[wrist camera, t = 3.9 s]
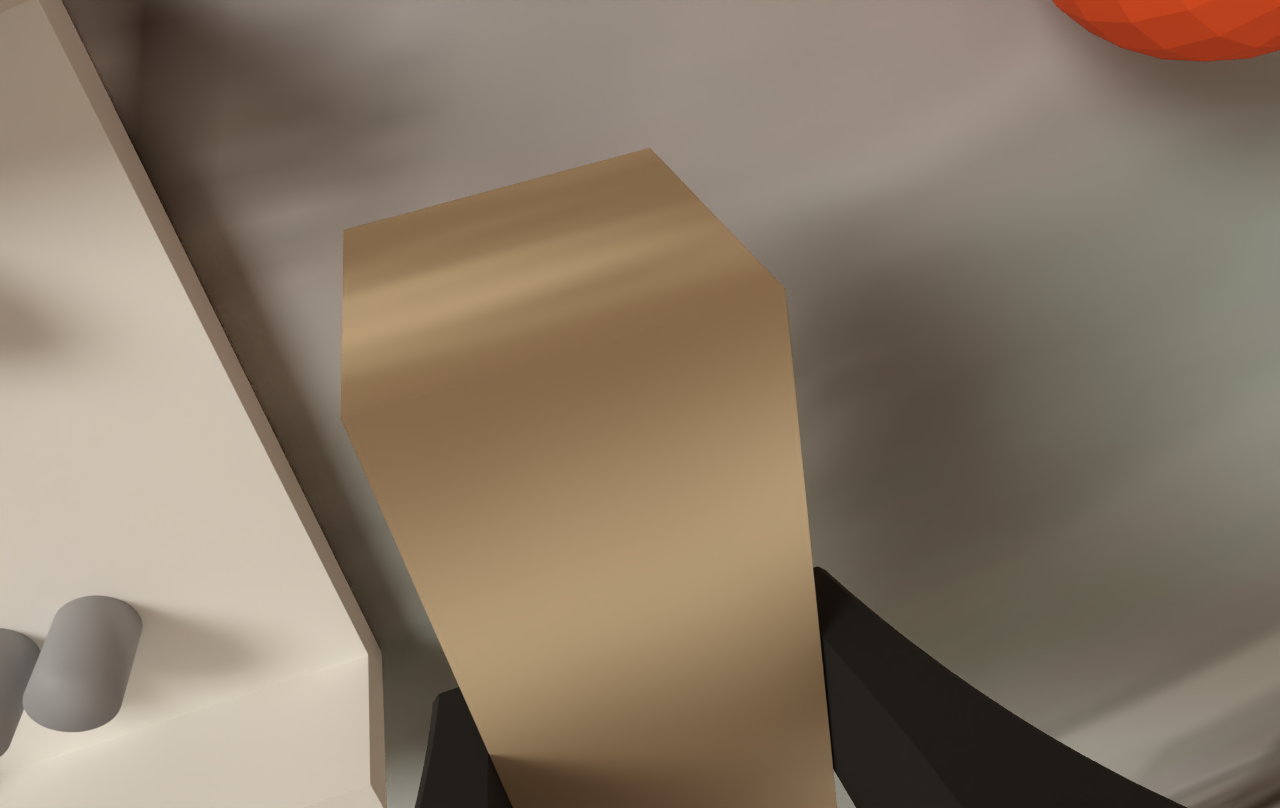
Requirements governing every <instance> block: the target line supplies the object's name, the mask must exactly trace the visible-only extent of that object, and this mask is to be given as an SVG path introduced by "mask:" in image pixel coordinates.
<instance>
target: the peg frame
mask: <svg viewBox="0 0 1280 808" xmlns="http://www.w3.org/2000/svg"><path fill="white" fill-rule="evenodd" d="M0 808H387V797H386V766H385V735H384V705H383V674H382V652H381V650H380V648H379V646H378V644H377V642H376V640H375V638H374V636H373V634H372V632H371V630H370V628H369V626H368V624H367V622H366V620H365V618H364V616H363V614H362V612H361V610H360V607H359V605H358V603H357V601H356V599H355V597H354V595H353V593H352V591H351V589H350V587H349V585H348V583H347V581H346V579H345V577H344V575H343V573H342V571H341V569H340V567H339V565H338V563H337V561H336V559H335V557H334V554H333V552H332V550H331V548H330V546H329V544H328V542H327V540H326V538H325V536H324V534H323V532H322V530H321V528H320V526H319V524H318V522H317V520H316V518H315V516H314V514H313V512H312V510H311V508H310V506H309V504H308V502H307V499H306V497H305V495H304V493H303V491H302V489H301V487H300V485H299V483H298V481H297V479H296V477H295V475H294V473H293V471H292V469H291V467H290V465H289V463H288V461H287V459H286V457H285V455H284V453H283V451H282V449H281V447H280V444H279V442H278V440H277V438H276V436H275V434H274V432H273V430H272V428H271V426H270V424H269V422H268V420H267V418H266V416H265V414H264V412H263V410H262V408H261V406H260V404H259V402H258V400H257V398H256V396H255V394H254V391H253V389H252V387H251V385H250V383H249V381H248V379H247V377H246V375H245V373H244V371H243V369H242V367H241V365H240V363H239V361H238V359H237V357H236V355H235V353H234V351H233V349H232V347H231V345H230V343H229V341H228V339H227V336H226V334H225V332H224V330H223V328H222V326H221V324H220V322H219V320H218V318H217V316H216V314H215V312H214V310H213V308H212V306H211V304H210V302H209V300H208V298H207V296H206V294H205V292H204V290H203V288H202V286H201V283H200V281H199V279H198V277H197V275H196V273H195V271H194V269H193V267H192V265H191V263H190V261H189V259H188V257H187V255H186V253H185V251H184V249H183V247H182V245H181V243H180V241H179V239H178V237H177V235H176V233H175V231H174V228H173V226H172V224H171V222H170V220H169V218H168V216H167V214H166V212H165V210H164V208H163V206H162V204H161V202H160V200H159V198H158V196H157V194H156V192H155V190H154V188H153V186H152V184H151V182H150V180H149V178H148V175H147V173H146V171H145V169H144V167H143V165H142V163H141V161H140V159H139V157H138V155H137V153H136V151H135V149H134V147H133V145H132V143H131V141H130V139H129V137H128V135H127V133H126V131H125V129H124V127H123V125H122V123H121V120H120V118H119V116H118V114H117V112H116V110H115V108H114V106H113V104H112V102H111V100H110V98H109V96H108V94H107V92H106V90H105V88H104V86H103V84H102V82H101V80H100V78H99V76H98V74H97V72H96V70H95V67H94V65H93V63H92V61H91V59H90V57H89V55H88V53H87V51H86V49H85V47H84V45H83V43H82V41H81V39H80V37H79V35H78V33H77V31H76V29H75V27H74V25H73V23H72V21H71V19H70V17H69V15H68V12H67V10H66V8H65V6H64V4H63V2H62V0H0Z"/></svg>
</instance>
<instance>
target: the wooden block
mask: <svg viewBox="0 0 1280 808" xmlns="http://www.w3.org/2000/svg"><path fill="white" fill-rule="evenodd" d="M341 420H342V423H343V425H344V427H345V429H346V432H347V434H348V436H349V438H350V441H351V443H352V445H353V447H354V450H355V452H356V454H357V456H358V459H359V461H360V463H361V466H362V468H363V470H364V472H365V475H366V477H367V479H368V481H369V484H370V486H371V488H372V490H373V493H374V495H375V497H376V499H377V502H378V504H379V506H380V508H381V511H382V513H383V515H384V518H385V520H386V522H387V524H388V527H389V529H390V531H391V533H392V536H393V538H394V540H395V542H396V545H397V547H398V549H399V551H400V554H401V556H402V558H403V561H404V563H405V565H406V567H407V570H408V572H409V574H410V576H411V579H412V581H413V583H414V585H415V588H416V590H417V592H418V594H419V597H420V599H421V601H422V603H423V606H424V608H425V610H426V613H427V615H428V617H429V619H430V622H431V624H432V626H433V628H434V631H435V633H436V635H437V637H438V640H439V642H440V644H441V646H442V649H443V651H444V653H445V656H446V658H447V660H448V662H449V665H450V667H451V669H452V671H453V674H454V676H455V678H456V680H457V683H458V685H459V687H460V689H461V692H462V694H463V696H464V698H465V701H466V703H467V705H468V708H469V710H470V712H471V714H472V717H473V719H474V721H475V723H476V726H477V728H478V730H479V732H480V735H481V737H482V739H483V741H484V744H485V746H486V748H487V751H488V753H489V755H490V757H491V760H492V762H493V764H494V766H495V769H496V771H497V773H498V775H499V778H500V780H501V782H502V784H503V787H504V789H505V791H506V794H507V796H508V798H509V800H510V803H511V805H512V807H513V808H837V802H836V792H835V782H834V772H833V762H832V752H831V742H830V732H829V722H828V712H827V702H826V692H825V682H824V672H823V662H822V652H821V642H820V632H819V622H818V612H817V603H816V593H815V583H814V573H813V563H812V553H811V543H810V533H809V523H808V513H807V503H806V493H805V483H804V473H803V463H802V453H801V443H800V433H799V423H798V413H797V403H796V393H795V383H794V373H793V363H792V353H791V343H790V333H789V323H788V313H787V303H786V294H785V288H784V287H783V286H782V285H781V284H780V283H779V282H778V281H777V280H776V279H775V278H774V277H773V276H772V275H771V273H770V272H769V271H768V270H767V269H766V268H765V267H764V266H763V265H762V264H761V263H760V262H759V261H758V260H757V259H756V258H755V257H754V256H753V255H752V254H751V253H750V252H749V251H748V250H747V248H746V247H745V246H744V245H743V244H742V243H741V242H740V241H739V240H738V239H737V238H736V237H735V236H734V235H733V234H732V233H731V232H730V231H729V230H728V229H727V228H726V227H725V226H724V224H723V223H722V222H721V221H720V220H719V219H718V218H717V217H716V216H715V215H714V214H713V213H712V212H711V211H710V210H709V209H708V208H707V207H706V206H705V205H704V204H703V203H702V202H701V201H700V199H699V198H698V197H697V196H696V195H695V194H694V193H693V192H692V191H691V190H690V189H689V188H688V187H687V186H686V185H685V184H684V183H683V182H682V181H681V180H680V179H679V178H678V177H677V176H676V174H675V173H674V172H673V171H672V170H671V169H670V168H669V167H668V166H667V165H666V164H665V163H664V162H663V161H662V160H661V159H660V158H659V157H658V156H657V155H656V154H655V153H654V152H653V150H652V149H651V148H648V149H644V150H640V151H636V152H633V153H629V154H625V155H621V156H618V157H614V158H610V159H607V160H603V161H599V162H595V163H592V164H588V165H584V166H580V167H577V168H573V169H569V170H566V171H562V172H558V173H554V174H551V175H547V176H543V177H539V178H536V179H532V180H528V181H525V182H521V183H517V184H513V185H510V186H506V187H502V188H498V189H495V190H491V191H487V192H484V193H480V194H476V195H472V196H469V197H465V198H461V199H457V200H454V201H450V202H446V203H443V204H439V205H435V206H431V207H428V208H424V209H420V210H416V211H413V212H409V213H405V214H402V215H398V216H394V217H390V218H387V219H383V220H379V221H375V222H372V223H368V224H364V225H361V226H357V227H353V228H349V229H346V230H344V240H343V308H342V375H341Z"/></svg>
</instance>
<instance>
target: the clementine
mask: <svg viewBox="0 0 1280 808" xmlns="http://www.w3.org/2000/svg"><path fill="white" fill-rule="evenodd" d="M1053 1H1054V3H1055V4H1056V6H1057V7H1058V8H1059V9H1061V10H1062V11H1063V12H1064V13H1066V14H1067V15H1068V16H1070V17H1071V18H1072V19H1073V20H1075V21H1076V22H1077V23H1079V24H1080V25H1081V26H1083V27H1084V28H1085V29H1086V30H1088V31H1089V32H1091V33H1093V34H1095V35H1097V36H1099V37H1101V38H1103V39H1105V40H1107V41H1109V42H1111V43H1113V44H1115V45H1117V46H1119V47H1121V48H1125V49H1128V50H1132V51H1135V52H1139V53H1142V54H1146V55H1149V56H1153V57H1156V58H1160V59H1170V60H1188V61H1218V60H1232V59H1245V58H1252V57H1256V56H1259V55H1263V54H1267V53H1270V52H1274V51H1277V50H1280V0H1053Z"/></svg>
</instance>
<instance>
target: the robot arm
mask: <svg viewBox="0 0 1280 808" xmlns="http://www.w3.org/2000/svg"><path fill="white" fill-rule="evenodd" d="M813 573H814V583H815V593H816V603H817V612H818V622H819V632H820V642H821V652H822V662H823V672H824V682H825V692H826V702H827V712H828V722H829V732H830V742H831V752H832V762H833V769H834V771H835V773H836V774H837V776H838V778H839V779H840V781H841V783H842V784H843V786H844V788H845V790H846V791H847V793H848V795H849V796H850V798H851V800H852V801H853V803H854V805H855V806H856V808H1187V807H1185V806H1183V805H1180V804H1178V803H1176V802H1174V801H1172V800H1170V799H1168V798H1166V797H1164V796H1162V795H1159V794H1157V793H1155V792H1153V791H1151V790H1149V789H1147V788H1145V787H1143V786H1141V785H1138V784H1136V783H1134V782H1132V781H1130V780H1128V779H1126V778H1124V777H1123V776H1121V775H1119V774H1117V773H1115V772H1113V771H1111V770H1110V769H1108V768H1106V767H1104V766H1102V765H1100V764H1098V763H1097V762H1095V761H1093V760H1091V759H1089V758H1087V757H1085V756H1084V755H1082V754H1080V753H1078V752H1077V751H1075V750H1073V749H1071V748H1070V747H1068V746H1066V745H1064V744H1063V743H1061V742H1059V741H1057V740H1056V739H1054V738H1052V737H1051V736H1049V735H1047V734H1045V733H1044V732H1042V731H1040V730H1039V729H1037V728H1036V727H1034V726H1032V725H1031V724H1029V723H1027V722H1026V721H1024V720H1023V719H1021V718H1019V717H1018V716H1016V715H1015V714H1013V713H1012V712H1010V711H1008V710H1007V709H1005V708H1004V707H1002V706H1001V705H999V704H998V703H996V702H995V701H993V700H992V699H990V698H989V697H987V696H986V695H984V694H983V693H981V692H980V691H978V690H977V689H975V688H974V687H972V686H971V685H970V684H968V683H967V682H965V681H964V680H962V679H961V678H960V677H958V676H957V675H955V674H954V673H952V672H951V671H950V670H948V669H947V668H946V667H944V666H943V665H942V664H940V663H939V662H938V661H936V660H935V659H933V658H932V657H931V656H929V655H928V654H927V653H925V652H924V651H923V650H921V649H920V648H919V647H917V646H916V645H915V644H913V643H912V642H911V641H909V640H908V639H907V638H905V637H904V636H903V635H902V634H900V633H899V632H898V631H897V630H895V629H894V628H893V627H892V626H890V625H889V624H888V623H887V622H885V621H884V620H883V619H882V618H880V617H879V616H878V615H877V614H875V613H874V612H873V611H872V610H871V609H869V608H868V607H867V606H866V605H865V604H863V603H862V602H861V601H860V600H859V599H858V598H856V597H855V596H854V595H853V594H852V593H851V592H849V591H848V590H847V589H846V588H845V587H844V586H843V585H841V584H840V583H839V582H838V581H837V580H836V579H835V578H834V577H832V576H831V575H830V574H829V573H828V572H827V571H826V570H824V569H822V568H820V567H815V568H813ZM415 808H513V807H512V805H511V803H510V800H509V798H508V796H507V794H506V791H505V789H504V787H503V784H502V782H501V780H500V778H499V775H498V773H497V771H496V769H495V766H494V764H493V762H492V760H491V757H490V755H489V753H488V751H487V748H486V746H485V744H484V741H483V739H482V737H481V735H480V732H479V730H478V728H477V726H476V723H475V721H474V719H473V717H472V714H471V712H470V710H469V708H468V705H467V703H466V701H465V698H464V696H463V694H462V692H461V689H460V687H458V688H455V689H452V690H449V691H446V692H443V693H440V694H439V695H438V696H437V698H436V699H435V701H434V702H433V709H432V718H431V726H430V732H429V739H428V745H427V751H426V757H425V762H424V767H423V772H422V777H421V782H420V787H419V791H418V796H417V801H416V805H415Z"/></svg>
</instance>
